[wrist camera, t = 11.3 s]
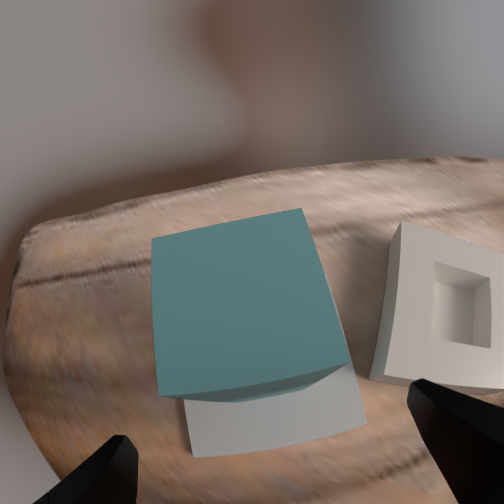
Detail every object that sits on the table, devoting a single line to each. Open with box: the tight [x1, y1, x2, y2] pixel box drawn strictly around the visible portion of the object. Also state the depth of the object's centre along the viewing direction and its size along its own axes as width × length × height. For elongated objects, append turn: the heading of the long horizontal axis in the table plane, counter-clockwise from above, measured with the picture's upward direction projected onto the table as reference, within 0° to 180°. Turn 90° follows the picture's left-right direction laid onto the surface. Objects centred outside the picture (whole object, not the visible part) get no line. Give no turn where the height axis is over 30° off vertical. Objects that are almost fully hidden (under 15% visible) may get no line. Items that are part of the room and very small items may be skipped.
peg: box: [151, 208, 350, 403], centre depth 12 cm, size 4×4×12 cm
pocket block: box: [368, 221, 504, 395], centre depth 16 cm, size 11×11×3 cm
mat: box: [184, 272, 367, 458], centre depth 17 cm, size 11×11×1 cm
